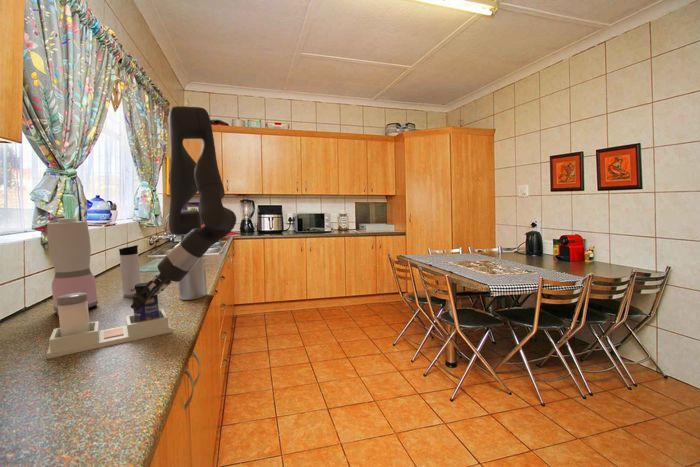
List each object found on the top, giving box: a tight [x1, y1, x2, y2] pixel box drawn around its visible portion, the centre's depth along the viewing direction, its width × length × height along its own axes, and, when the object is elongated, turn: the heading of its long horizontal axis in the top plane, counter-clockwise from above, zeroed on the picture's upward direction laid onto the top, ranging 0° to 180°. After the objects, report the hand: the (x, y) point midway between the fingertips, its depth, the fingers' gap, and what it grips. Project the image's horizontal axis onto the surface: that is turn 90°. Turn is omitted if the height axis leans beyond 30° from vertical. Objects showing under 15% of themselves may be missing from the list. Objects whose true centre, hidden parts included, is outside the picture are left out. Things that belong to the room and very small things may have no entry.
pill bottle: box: [132, 281, 160, 323], centre depth 101 cm, size 6×6×11 cm
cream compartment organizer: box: [45, 293, 173, 359], centre depth 96 cm, size 27×11×13 cm, turn 124°
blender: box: [46, 217, 99, 316], centre depth 125 cm, size 16×12×32 cm
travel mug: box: [118, 245, 142, 298], centre depth 141 cm, size 6×7×20 cm
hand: (139, 304), depth 100 cm, fingers closed on pill bottle, 6 cm apart
